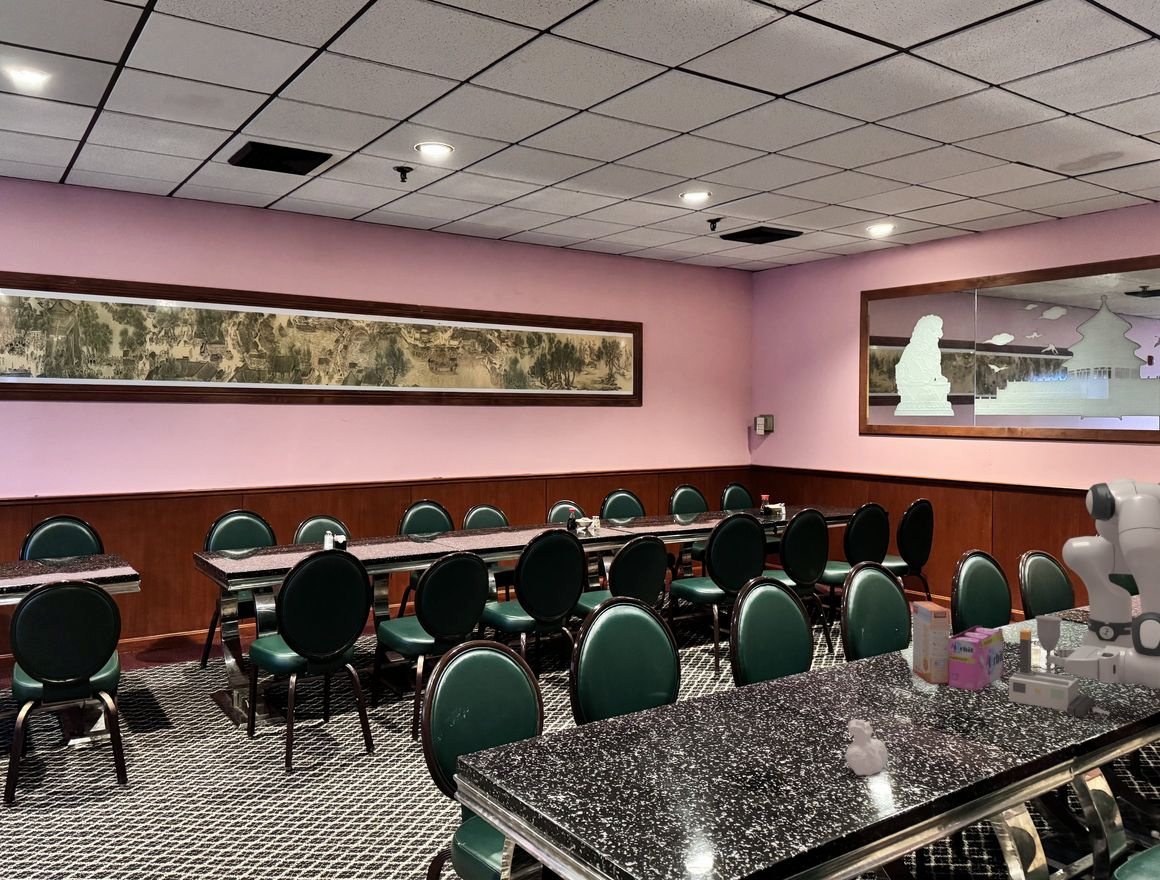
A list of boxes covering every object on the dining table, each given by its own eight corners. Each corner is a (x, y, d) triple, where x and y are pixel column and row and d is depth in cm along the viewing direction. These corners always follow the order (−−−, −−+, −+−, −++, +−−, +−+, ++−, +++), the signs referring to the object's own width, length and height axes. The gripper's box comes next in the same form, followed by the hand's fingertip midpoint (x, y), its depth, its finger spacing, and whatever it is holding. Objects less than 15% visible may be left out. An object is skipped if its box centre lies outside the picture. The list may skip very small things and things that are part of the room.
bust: (881, 773, 195) (854, 724, 201) (905, 760, 191) (877, 709, 196) (845, 786, 188) (818, 734, 194) (870, 773, 183) (842, 720, 189)
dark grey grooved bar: (1081, 699, 241) (1081, 693, 241) (1096, 702, 239) (1096, 696, 239) (1067, 713, 229) (1067, 707, 229) (1082, 716, 227) (1082, 710, 227)
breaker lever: (1020, 672, 246) (1020, 628, 246) (1035, 674, 243) (1035, 630, 243) (1016, 675, 242) (1016, 631, 242) (1030, 678, 240) (1030, 633, 240)
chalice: (1059, 686, 254) (1059, 621, 254) (1032, 682, 259) (1032, 618, 258) (1064, 680, 260) (1064, 617, 260) (1038, 676, 264) (1038, 614, 264)
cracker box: (950, 684, 257) (950, 609, 257) (929, 684, 257) (929, 609, 257) (932, 671, 271) (932, 600, 271) (912, 671, 271) (912, 600, 271)
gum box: (978, 669, 273) (978, 624, 273) (1006, 674, 267) (1006, 628, 267) (947, 686, 255) (947, 637, 255) (977, 691, 250) (977, 642, 250)
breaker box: (1020, 692, 249) (1020, 667, 249) (1078, 701, 240) (1078, 675, 240) (1008, 701, 240) (1008, 675, 240) (1067, 711, 231) (1067, 684, 231)
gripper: (1121, 643, 238) (1063, 636, 246) (1105, 659, 222) (1043, 650, 231) (1121, 668, 238) (1063, 659, 247) (1105, 685, 222) (1043, 675, 231)
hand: (1053, 655), depth 239 cm, fingers open, 8 cm apart
